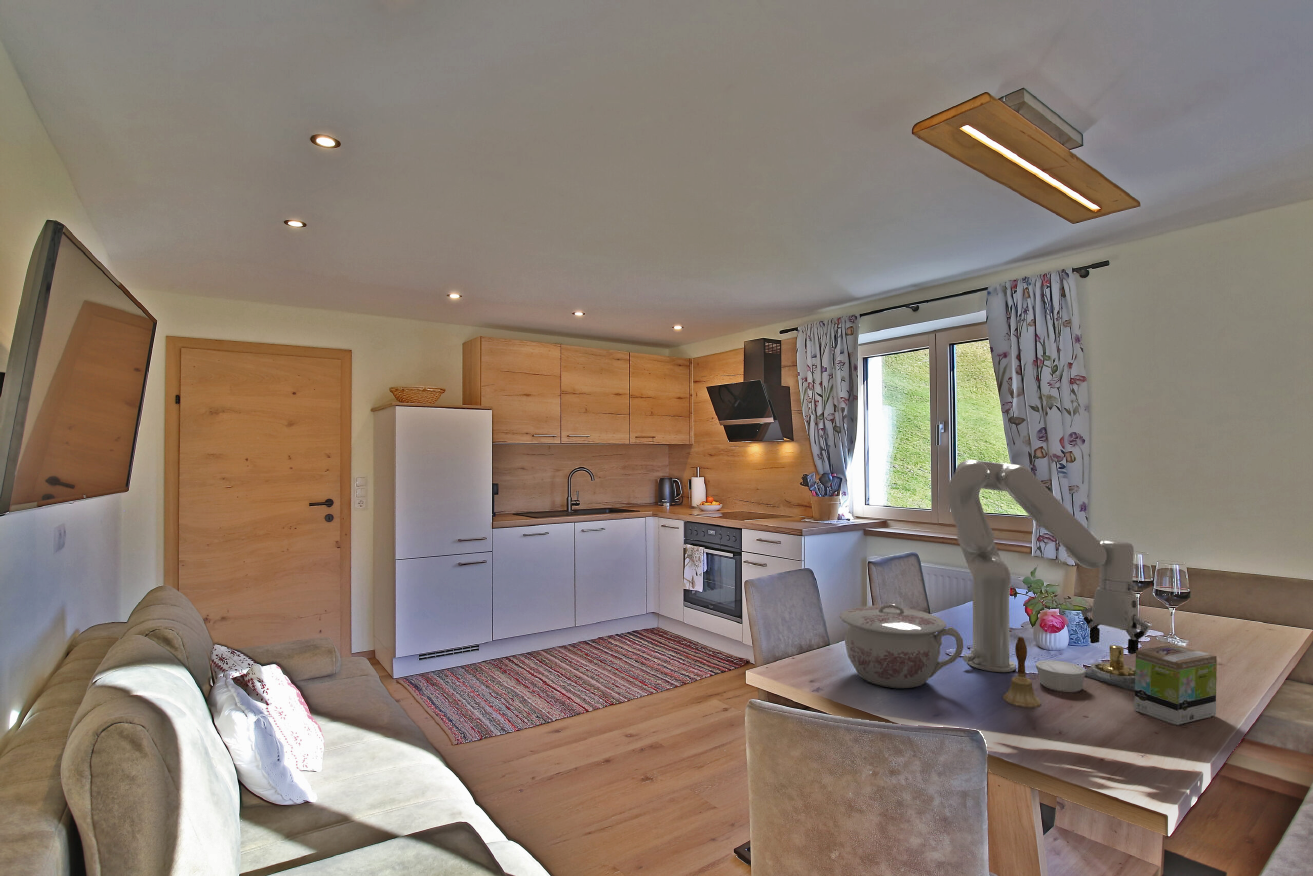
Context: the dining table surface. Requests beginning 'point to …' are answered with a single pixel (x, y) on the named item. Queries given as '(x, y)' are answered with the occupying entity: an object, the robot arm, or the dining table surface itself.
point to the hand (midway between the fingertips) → (1113, 647)
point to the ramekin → (1061, 675)
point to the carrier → (1111, 677)
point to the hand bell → (1021, 681)
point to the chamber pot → (896, 644)
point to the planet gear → (1116, 663)
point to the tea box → (1175, 684)
